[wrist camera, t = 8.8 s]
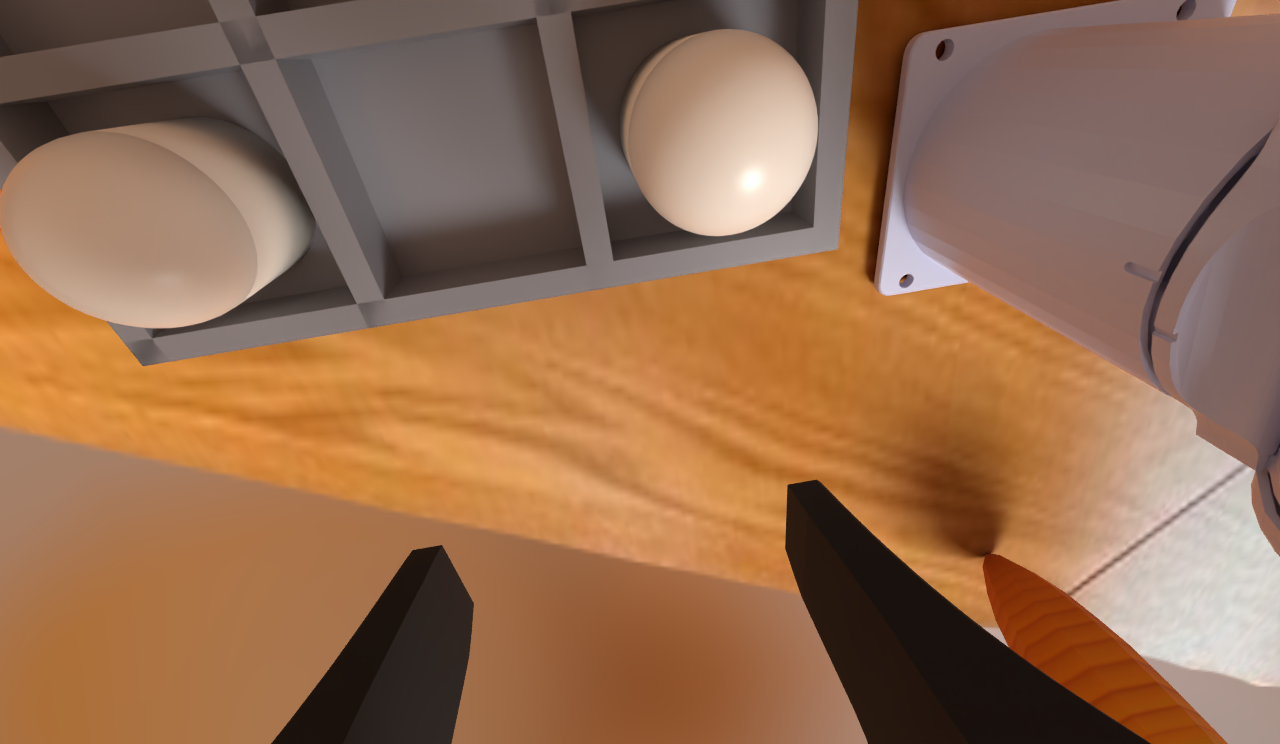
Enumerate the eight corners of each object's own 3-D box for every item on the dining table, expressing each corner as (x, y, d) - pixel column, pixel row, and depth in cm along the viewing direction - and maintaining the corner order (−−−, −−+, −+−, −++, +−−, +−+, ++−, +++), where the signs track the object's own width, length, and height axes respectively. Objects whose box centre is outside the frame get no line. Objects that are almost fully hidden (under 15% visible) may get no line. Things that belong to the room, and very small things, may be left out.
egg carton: (848, -538, 9) (1150, -1212, 4) (809, 228, 17) (902, 296, 12) (-308, -369, 9) (-1377, -884, 4) (191, 332, 17) (31, 444, 12)
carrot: (974, 522, 27) (1329, 940, 14) (1049, 527, 28) (1446, 923, 15) (928, 580, 29) (1195, 979, 17) (999, 583, 30) (1302, 963, 17)
